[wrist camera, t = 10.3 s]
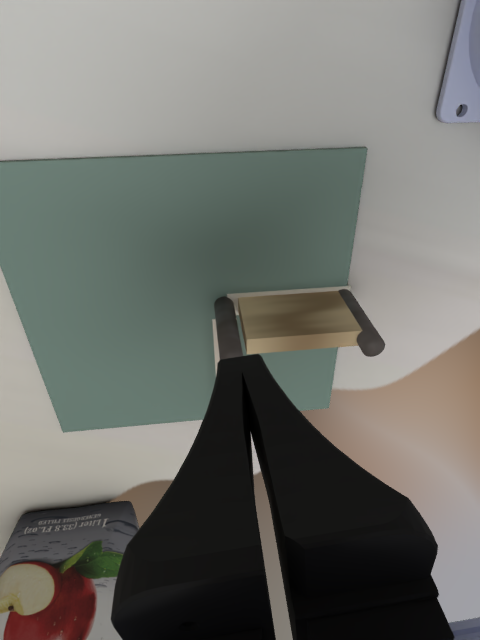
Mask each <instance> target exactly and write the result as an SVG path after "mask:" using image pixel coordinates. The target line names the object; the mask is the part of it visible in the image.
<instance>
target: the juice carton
mask: <svg viewBox="0 0 480 640" xmlns="http://www.w3.org/2000/svg"><path fill="white" fill-rule="evenodd" d="M139 529H140V528H139V526H138V522H137V518H136V514H135V511H134V508H133V506H132V503H131V502H129V501H119V502H111V503H104V504H97V505H91V506H84V507H77V508H68V509H57V510H47V511H39V512H32V513H27V514H24V515H22V516H21V518H20V520H19V521H18V523H17V525H16V527H15V529H14V531H13V533H12V535H11V537H10V539H9V541H8V543H7V545H6V547H5V549H4V551H3V553H2V556H1V558H0V640H122V638H121V637H120V636H119V634H118V633H117V631H116V630H115V629H114V627H113V625H112V622H111V612H112V604H113V596H114V589H115V583H116V579H117V575H118V571H119V568H120V564H121V561H122V558H123V555H124V552H125V549H126V546H127V544H128V543H129V542H130V540H131V539H132V538H133V536H134V535H135V534H136V533H137V531H138V530H139Z"/></svg>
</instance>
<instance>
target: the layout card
mask: <svg viewBox="0 0 480 640" xmlns="http://www.w3.org/2000/svg"><path fill="white" fill-rule="evenodd" d="M366 155H367V148H366V147H354V148H328V149H302V150H276V151H250V152H224V153H198V154H172V155H146V156H120V157H94V158H68V159H43V160H17V161H0V266H1V269H2V272H3V274H4V277H5V279H6V282H7V285H8V287H9V290H10V293H11V295H12V298H13V301H14V303H15V306H16V309H17V311H18V314H19V317H20V319H21V322H22V325H23V327H24V330H25V333H26V335H27V338H28V341H29V343H30V346H31V349H32V351H33V354H34V357H35V359H36V362H37V365H38V367H39V370H40V373H41V375H42V378H43V380H44V383H45V386H46V388H47V391H48V394H49V396H50V399H51V402H52V404H53V407H54V410H55V412H56V415H57V418H58V420H59V423H60V426H61V428H62V431H63V432H73V431H84V430H94V429H105V428H116V427H127V426H138V425H149V424H160V423H171V422H182V421H193V420H203V419H204V416H205V414H206V411H207V408H208V405H209V402H210V398H211V395H212V392H213V388H214V384H215V379H216V374H217V363H218V362H219V361H220V357H219V347H218V338H217V328H216V319H215V309H214V303H215V301H216V300H217V299H218V298H220V297H224V296H225V297H228V298H230V299H231V300H232V301H233V303H234V308H235V314H236V319H237V325H238V330H239V336H240V341H241V347H242V352H243V356H246V355H253V354H247V353H246V348H245V343H244V338H243V333H242V327H241V322H240V317H239V312H238V298H240V297H255V296H270V295H284V294H299V293H314V292H329V291H339V290H341V289H347V290H349V291H350V288H351V286H347V282H348V276H349V269H350V262H351V256H352V249H353V242H354V235H355V229H356V222H357V215H358V209H359V202H360V195H361V188H362V182H363V175H364V168H365V162H366ZM337 350H338V347H334V348H321V349H309V350H296V351H283V352H271V353H258V354H259V355H261V356H262V358H263V360H264V362H265V364H266V366H267V368H268V369H269V371H270V373H271V374H272V376H273V377H274V379H275V380H276V382H277V383H278V385H279V386H280V387H281V389H282V390H283V391H284V393H285V394H286V395H287V397H288V398H289V399H290V400H291V402H292V403H293V404H294V405H295V406H296V408H297V409H298V410H299V411H301V410H313V409H324V408H329V403H330V396H331V390H332V383H333V376H334V370H335V363H336V356H337Z"/></svg>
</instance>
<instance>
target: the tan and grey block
mask: <svg viewBox="0 0 480 640" xmlns="http://www.w3.org/2000/svg"><path fill="white" fill-rule="evenodd" d="M214 309H215V319H216V328H217V338H218V347H219V357H220V360H221V359H227V358H234V357H240V356H243V352H242V347H241V341H240V336H239V330H238V325H237V319H236V314H235V308H234V303H233V301H232V300H231V299H230V298H228V297H225V296H224V297H220V298H218V299H217V300H216V301H215V303H214ZM238 312H239V317H240V322H241V327H242V333H243V338H244V343H245V348H246V353H247V354H258V353H271V352H283V351H296V350H309V349H321V348H334V347H346V346H359V347H360V348H361V350H362V352H363V353H364V355H366V356H370V357H372V356H376V355H378V354H380V353H381V352H382V351H383V350H384V347H385V343H384V341H383V339H382V338H381V336H380V335H379V333H378V332H377V330H376V329H375V327H374V326H373V324H372V323H371V322H370V320H369V319H368V317H367V316H366V314H365V313H364V311H363V310H362V308H361V307H360V305H359V304H358V302H357V301H356V299H355V298H354V296H353V295H352V293H351V292H350V291H349V290H347V289H341V290H339V291H329V292H314V293H299V294H284V295H270V296H255V297H240V298H238Z"/></svg>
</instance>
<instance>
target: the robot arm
mask: <svg viewBox="0 0 480 640" xmlns="http://www.w3.org/2000/svg"><path fill="white" fill-rule="evenodd" d="M460 105H462V106H463V110H462V112H461V113H460V114H459V115H456V110H457V108H458V107H459V106H460ZM436 116H437V118H438V120H439V121H441V122H445V123H466V122H480V0H461V4H460V9H459V13H458V18H457V22H456V26H455V31H454V35H453V40H452V44H451V49H450V53H449V57H448V62H447V66H446V71H445V75H444V80H443V84H442V88H441V93H440V97H439V102H438V106H437V111H436ZM250 431H251V432H250ZM251 434H252V438H253V442H254V446H255V449H256V453H257V457H258V461H259V464H260V468H261V472H262V476H263V479H264V483H265V487H266V490H267V495H268V499H269V503H270V508H271V514H272V520H273V525H274V531H275V537H276V543H277V549H278V554H279V560H280V566H281V572H282V578H283V583H284V589H285V595H286V601H287V607H288V612H289V619H290V625H291V631H292V636H293V640H480V617H479V618H474V619H468V620H463V621H457V622H451V623H448V622H447V619H446V617H445V615H444V613H443V610H442V608H441V606H440V604H439V602H438V599H437V597H438V595H439V593H438V590H437V587H436V585H435V583H434V581H433V579H432V576H431V571H432V568H433V565H434V562H435V559H436V555H437V548H438V545H437V543H436V541H435V539H434V536H433V534H432V532H431V530H430V529H429V527H428V525H427V524H426V522H425V521H424V519H423V518H422V516H421V515H420V513H419V512H418V510H417V509H416V508H415V506H414V505H413V504H412V502H411V501H410V500H409V498H407V497H405V496H404V495H402V494H401V493H399V492H397V491H396V490H394V489H392V488H391V487H389V486H388V485H386V484H385V483H383V482H382V481H380V480H379V479H377V478H376V477H374V476H373V475H372V474H370V473H369V472H367V471H366V470H365V469H363V468H362V467H360V466H359V465H358V464H356V463H355V462H354V461H353V460H351V459H350V458H349V457H348V456H346V455H345V454H344V453H343V452H341V451H340V450H339V449H338V448H336V447H335V446H334V445H333V444H332V443H331V442H330V441H329V440H327V439H326V438H325V437H324V436H323V435H322V434H321V433H320V432H319V431H318V430H317V429H316V428H315V427H314V426H313V425H312V424H311V423H310V422H309V421H308V420H307V419H306V418H305V417H304V416H303V415H302V413H301V412H300V411H299V410H298V409H297V408H296V406H295V405H294V404H293V403H292V402H291V400H290V399H289V398H288V397H287V395H286V394H285V393H284V391H283V390H282V389H281V387H280V386H279V385H278V383H277V382H276V380H275V379H274V377H273V376H272V374H271V373H270V371H269V369H268V368H267V366H266V364H265V362H264V360H263V358H262V356H261V355H259V354H253V355H246V356H240V357H234V358H227V359H221V360H220V361H219V362H218V363H217V374H216V379H215V384H214V388H213V392H212V395H211V398H210V402H209V405H208V408H207V411H206V414H205V416H204V419H203V422H202V424H201V427H200V429H199V432H198V434H197V436H196V439H195V441H194V443H193V445H192V447H191V449H190V451H189V453H188V455H187V457H186V459H185V461H184V463H183V464H182V466H181V468H180V470H179V472H178V474H177V475H176V477H175V479H174V480H173V482H172V484H171V485H170V487H169V488H168V490H167V491H166V493H165V494H164V496H163V497H162V499H161V500H160V502H159V503H158V505H157V506H156V508H155V509H154V511H153V512H152V513H151V515H150V516H149V517H148V519H147V520H146V521H145V522H144V524H143V525H142V526H141V528H140V529H139V530H138V531H137V533H136V534H135V535H134V536H133V538H132V539H131V540H130V542H129V543H128V544H127V546H126V549H125V552H124V555H123V558H122V561H121V564H120V568H119V571H118V575H117V579H116V583H115V589H114V596H113V604H112V612H111V622H112V625H113V627H114V629H115V630H116V631H117V633H118V634H119V636H120V637H121V638H122V640H276V638H275V632H274V625H273V618H272V612H271V605H270V599H269V592H268V586H267V579H266V572H265V566H264V559H263V552H262V546H261V539H260V532H259V527H258V519H257V513H256V506H255V495H254V480H253V463H252V447H251Z"/></svg>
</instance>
